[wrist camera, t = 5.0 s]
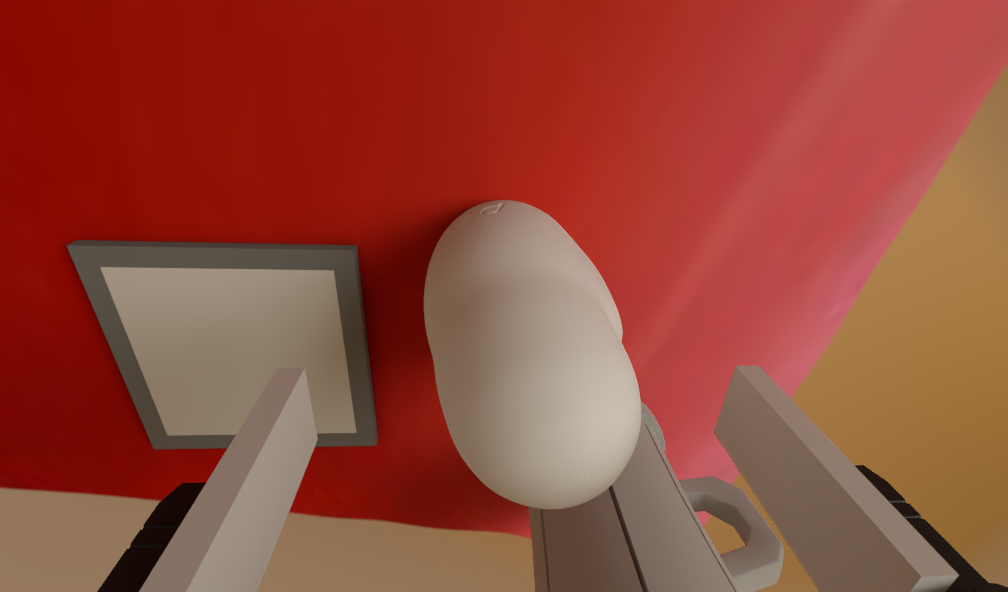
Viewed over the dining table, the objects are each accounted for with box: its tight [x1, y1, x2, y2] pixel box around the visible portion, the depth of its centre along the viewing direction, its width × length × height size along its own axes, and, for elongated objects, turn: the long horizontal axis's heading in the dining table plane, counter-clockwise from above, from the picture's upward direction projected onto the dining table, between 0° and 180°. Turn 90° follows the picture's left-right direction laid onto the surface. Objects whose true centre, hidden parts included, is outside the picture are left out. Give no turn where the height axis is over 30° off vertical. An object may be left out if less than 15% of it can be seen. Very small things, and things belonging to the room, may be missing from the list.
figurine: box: [424, 200, 641, 509], centre depth 17 cm, size 7×8×12 cm
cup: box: [528, 402, 784, 592], centre depth 23 cm, size 10×9×12 cm
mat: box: [66, 240, 378, 449], centre depth 23 cm, size 12×12×1 cm
